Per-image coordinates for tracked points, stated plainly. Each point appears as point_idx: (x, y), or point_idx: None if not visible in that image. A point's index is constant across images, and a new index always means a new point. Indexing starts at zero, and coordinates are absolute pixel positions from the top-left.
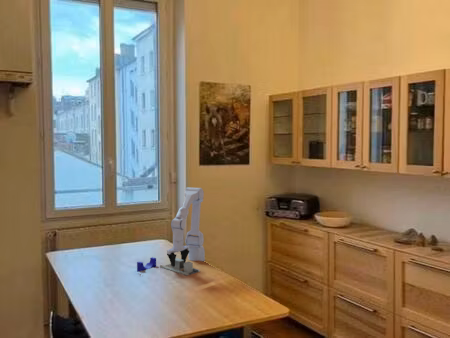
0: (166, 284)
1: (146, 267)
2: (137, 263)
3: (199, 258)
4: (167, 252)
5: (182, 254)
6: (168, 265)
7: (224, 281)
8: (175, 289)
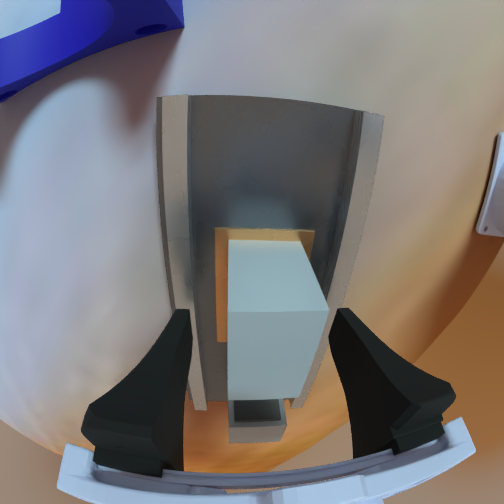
0: (62, 365)
1: (69, 16)
2: None
3: None
4: (67, 464)
5: (371, 393)
6: (289, 125)
7: (279, 445)
8: (80, 405)
